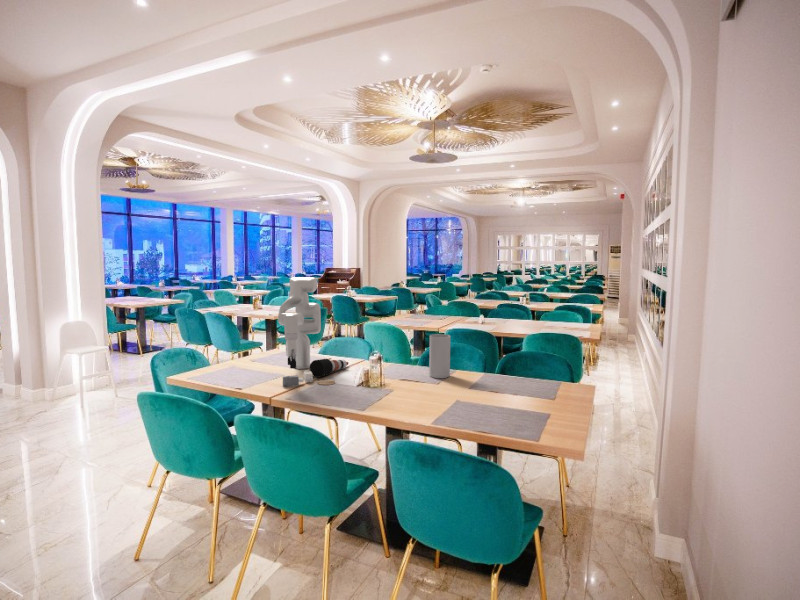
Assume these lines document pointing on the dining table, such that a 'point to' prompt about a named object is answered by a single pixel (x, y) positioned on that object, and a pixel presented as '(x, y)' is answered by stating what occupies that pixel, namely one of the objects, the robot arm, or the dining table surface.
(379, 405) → the dining table surface
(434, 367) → the cylinder vase
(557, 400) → the dining table surface
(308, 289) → the robot arm
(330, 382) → the cork coaster
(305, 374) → the cream plug
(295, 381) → the grey plug
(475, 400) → the dining table surface
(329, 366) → the black capped bottle
